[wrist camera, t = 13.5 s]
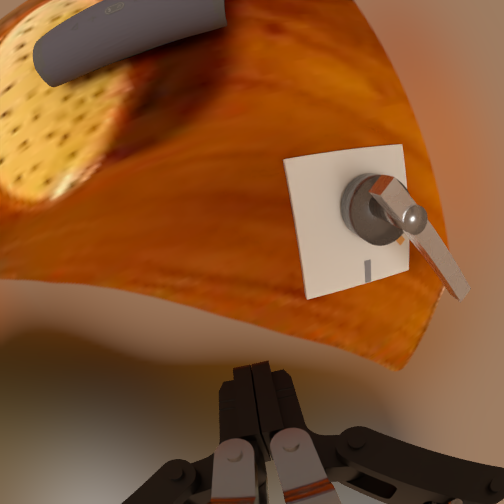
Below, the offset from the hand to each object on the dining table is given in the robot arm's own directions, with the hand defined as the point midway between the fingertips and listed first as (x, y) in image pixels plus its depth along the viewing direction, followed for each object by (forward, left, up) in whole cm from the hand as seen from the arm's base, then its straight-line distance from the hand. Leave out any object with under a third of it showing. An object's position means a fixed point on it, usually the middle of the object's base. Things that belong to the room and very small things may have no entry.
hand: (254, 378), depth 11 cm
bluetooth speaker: (-29, -7, -27) cm, 40 cm away
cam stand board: (+3, +17, -27) cm, 32 cm away
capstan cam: (+4, +21, -25) cm, 34 cm away
